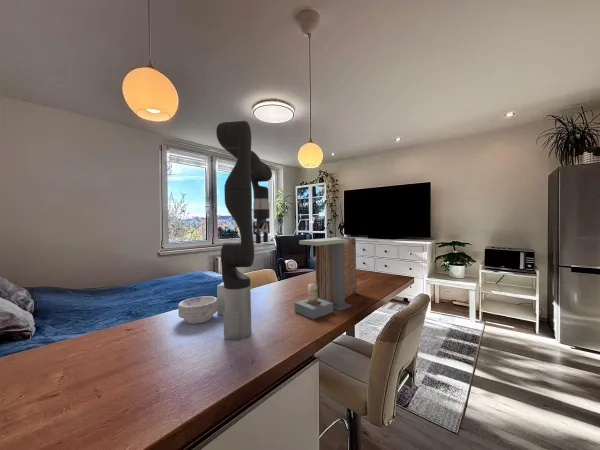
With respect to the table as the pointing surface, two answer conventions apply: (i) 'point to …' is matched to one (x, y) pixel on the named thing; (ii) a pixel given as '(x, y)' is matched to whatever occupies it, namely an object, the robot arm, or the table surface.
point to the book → (325, 269)
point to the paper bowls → (198, 309)
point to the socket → (313, 308)
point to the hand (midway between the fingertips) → (262, 242)
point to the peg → (313, 294)
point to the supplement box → (220, 298)
